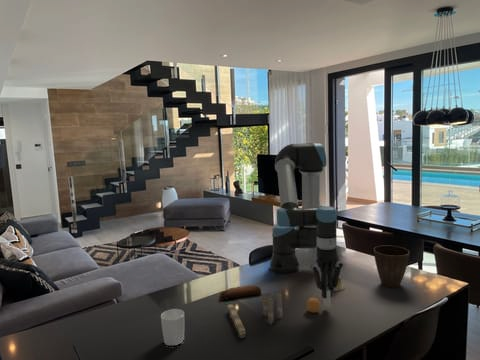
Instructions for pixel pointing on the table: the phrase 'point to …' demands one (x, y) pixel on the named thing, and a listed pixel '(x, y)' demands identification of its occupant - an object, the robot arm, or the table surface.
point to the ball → (313, 305)
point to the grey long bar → (236, 320)
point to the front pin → (279, 306)
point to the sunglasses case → (240, 292)
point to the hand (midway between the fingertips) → (327, 305)
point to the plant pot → (391, 264)
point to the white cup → (173, 326)
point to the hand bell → (339, 282)
